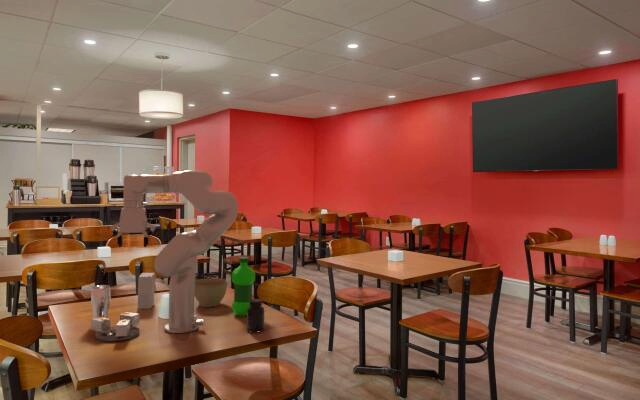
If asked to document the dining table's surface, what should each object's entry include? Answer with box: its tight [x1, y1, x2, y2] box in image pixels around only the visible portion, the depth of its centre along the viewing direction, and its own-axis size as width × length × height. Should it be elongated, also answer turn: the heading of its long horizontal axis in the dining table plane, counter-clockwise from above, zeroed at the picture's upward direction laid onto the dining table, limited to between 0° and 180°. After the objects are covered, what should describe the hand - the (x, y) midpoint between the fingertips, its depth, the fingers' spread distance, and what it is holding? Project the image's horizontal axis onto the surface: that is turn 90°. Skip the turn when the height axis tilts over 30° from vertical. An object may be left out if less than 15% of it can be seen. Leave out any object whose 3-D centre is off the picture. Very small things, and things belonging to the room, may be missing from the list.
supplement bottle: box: [246, 298, 265, 332], centre depth 179 cm, size 7×7×12 cm
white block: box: [90, 316, 111, 333], centre depth 168 cm, size 4×6×5 cm, turn 61°
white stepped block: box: [119, 311, 140, 327], centre depth 175 cm, size 4×6×5 cm, turn 71°
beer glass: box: [90, 284, 111, 319], centre depth 181 cm, size 7×7×15 cm
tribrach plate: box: [94, 325, 141, 343], centre depth 170 cm, size 15×15×2 cm
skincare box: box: [137, 272, 156, 310], centre depth 208 cm, size 8×6×15 cm
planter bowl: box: [194, 278, 229, 308], centre depth 214 cm, size 16×16×11 cm
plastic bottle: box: [231, 256, 256, 316], centre depth 199 cm, size 10×10×25 cm
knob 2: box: [115, 319, 130, 337], centre depth 165 cm, size 4×6×5 cm, turn 12°
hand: (133, 246), depth 188 cm, fingers open, 9 cm apart
